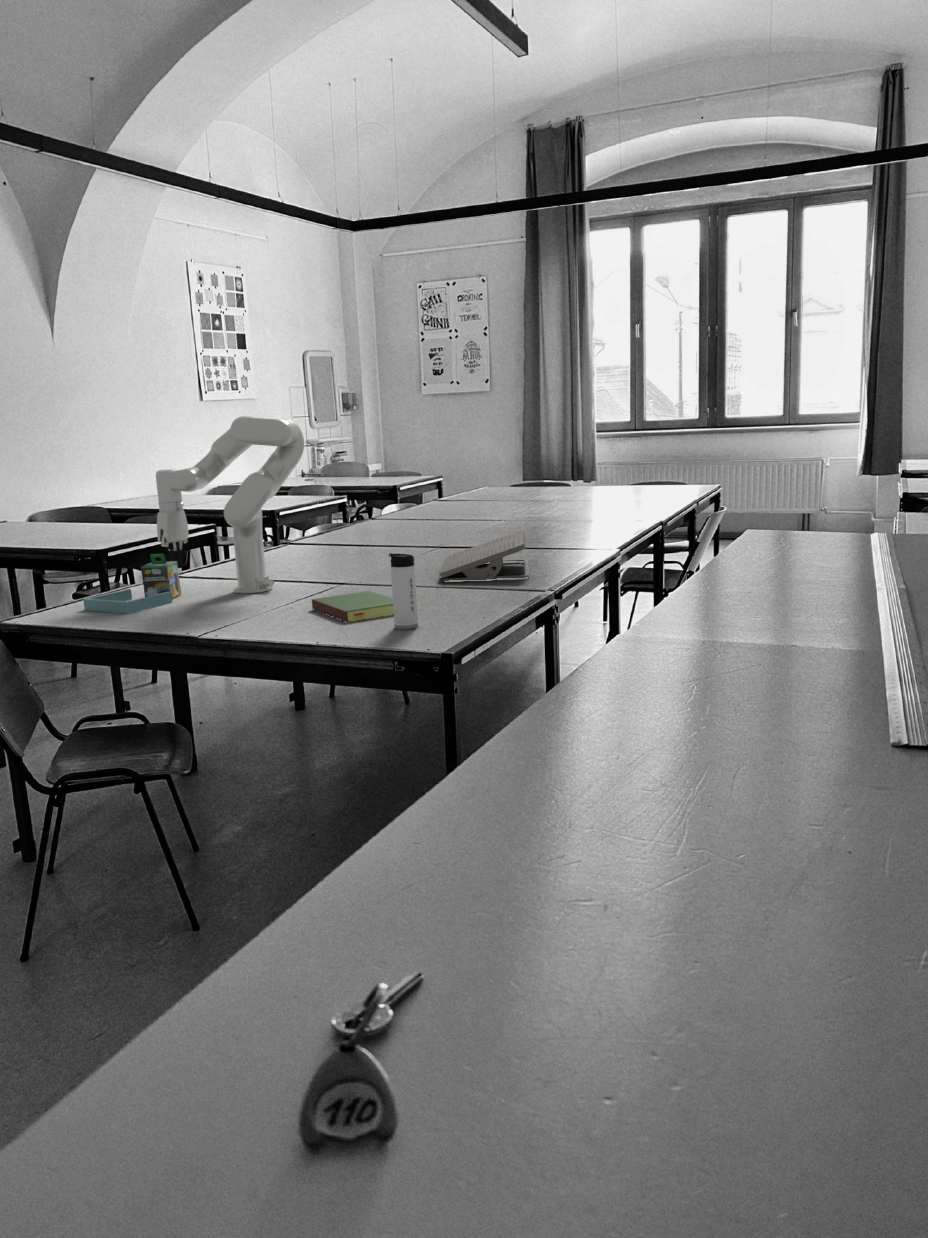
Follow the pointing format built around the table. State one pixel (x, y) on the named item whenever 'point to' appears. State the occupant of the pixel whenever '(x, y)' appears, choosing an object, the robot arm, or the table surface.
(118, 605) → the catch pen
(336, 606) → the hardcover book
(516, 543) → the foot rest
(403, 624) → the travel mug
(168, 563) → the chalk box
